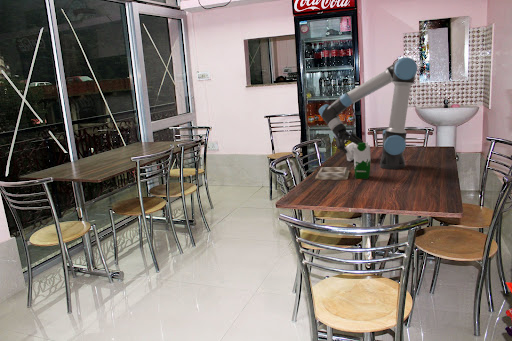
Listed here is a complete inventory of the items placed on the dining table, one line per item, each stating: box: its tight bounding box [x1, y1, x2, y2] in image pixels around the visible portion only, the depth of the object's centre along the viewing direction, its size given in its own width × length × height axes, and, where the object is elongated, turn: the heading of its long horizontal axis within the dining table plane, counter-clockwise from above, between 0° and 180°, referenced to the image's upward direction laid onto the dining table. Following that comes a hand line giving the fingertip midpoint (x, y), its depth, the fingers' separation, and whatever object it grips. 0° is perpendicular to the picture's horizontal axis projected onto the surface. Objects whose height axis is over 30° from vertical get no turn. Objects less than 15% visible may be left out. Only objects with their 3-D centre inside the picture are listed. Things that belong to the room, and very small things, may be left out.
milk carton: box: [353, 141, 372, 180], centre depth 242 cm, size 9×9×20 cm
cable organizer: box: [346, 141, 369, 162], centre depth 290 cm, size 15×11×12 cm
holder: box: [314, 166, 350, 181], centre depth 252 cm, size 18×18×4 cm
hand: (358, 155), depth 243 cm, fingers open, 13 cm apart
